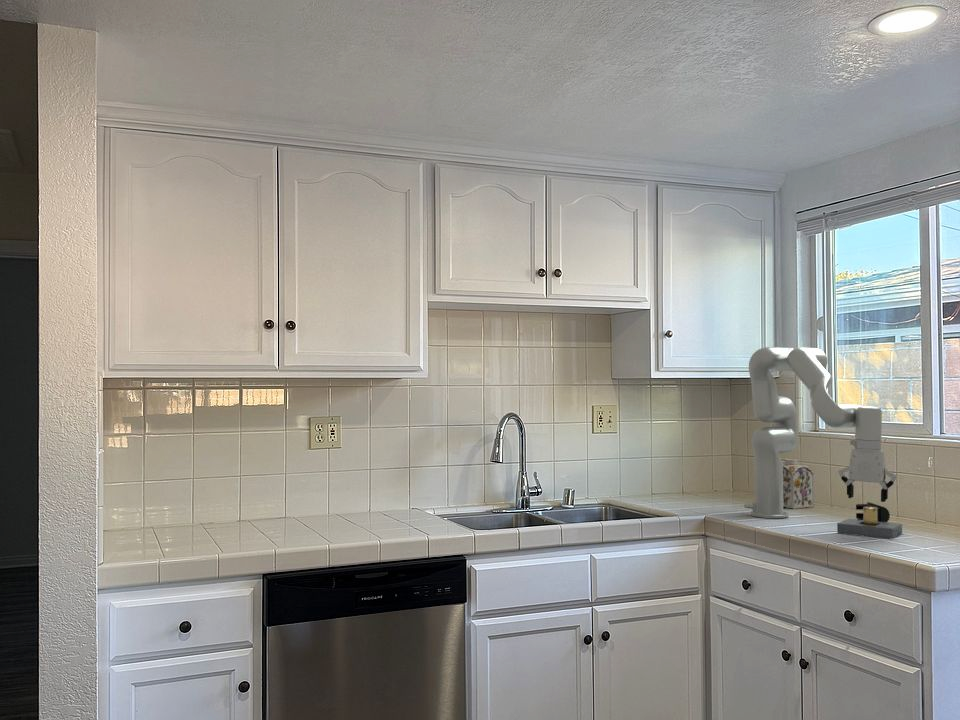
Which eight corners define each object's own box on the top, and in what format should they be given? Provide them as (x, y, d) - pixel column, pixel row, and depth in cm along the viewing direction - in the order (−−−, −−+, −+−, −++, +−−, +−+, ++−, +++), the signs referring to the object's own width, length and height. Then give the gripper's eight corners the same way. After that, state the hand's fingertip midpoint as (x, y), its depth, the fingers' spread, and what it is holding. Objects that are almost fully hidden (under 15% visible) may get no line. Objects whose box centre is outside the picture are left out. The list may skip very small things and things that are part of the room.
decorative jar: (769, 505, 324) (768, 458, 325) (790, 503, 330) (790, 457, 330) (793, 509, 314) (792, 461, 314) (815, 507, 319) (814, 460, 319)
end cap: (890, 526, 276) (890, 506, 276) (868, 526, 276) (868, 506, 276) (876, 522, 286) (876, 502, 286) (855, 521, 286) (855, 502, 286)
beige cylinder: (862, 533, 263) (861, 507, 263) (865, 531, 266) (865, 506, 266) (875, 534, 261) (875, 509, 261) (879, 533, 264) (878, 507, 264)
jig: (837, 532, 264) (837, 523, 264) (848, 527, 273) (848, 518, 273) (892, 538, 254) (892, 528, 254) (902, 533, 263) (902, 523, 263)
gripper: (835, 444, 267) (834, 497, 267) (894, 448, 256) (893, 504, 256) (842, 442, 273) (841, 495, 273) (900, 446, 262) (899, 501, 262)
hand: (866, 499), depth 265 cm, fingers open, 9 cm apart
